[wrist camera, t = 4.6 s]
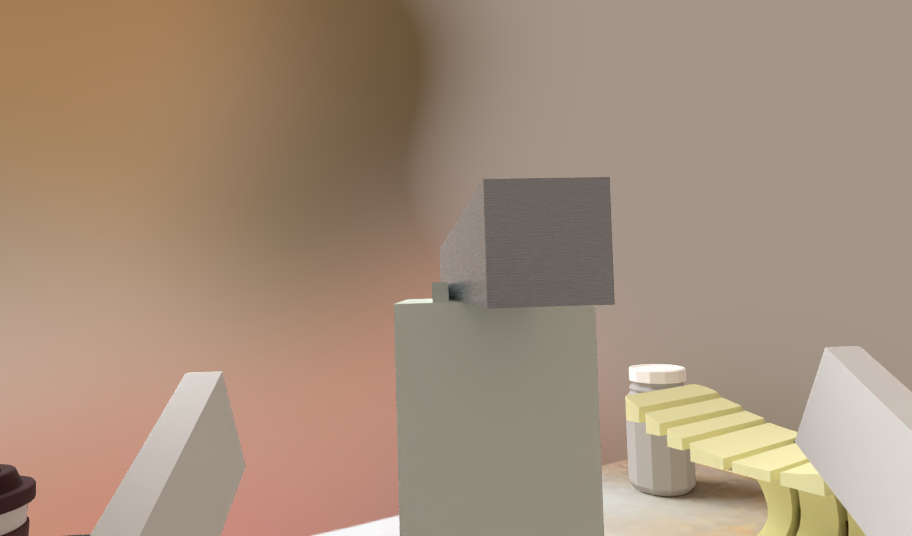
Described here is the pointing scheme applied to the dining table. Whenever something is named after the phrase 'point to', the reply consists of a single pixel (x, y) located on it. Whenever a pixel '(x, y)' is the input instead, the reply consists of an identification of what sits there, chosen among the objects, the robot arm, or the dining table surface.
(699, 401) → the slatted curved stool
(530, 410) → the stand
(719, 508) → the dining table surface
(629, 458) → the jar
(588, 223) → the bar
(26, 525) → the coffee cup
